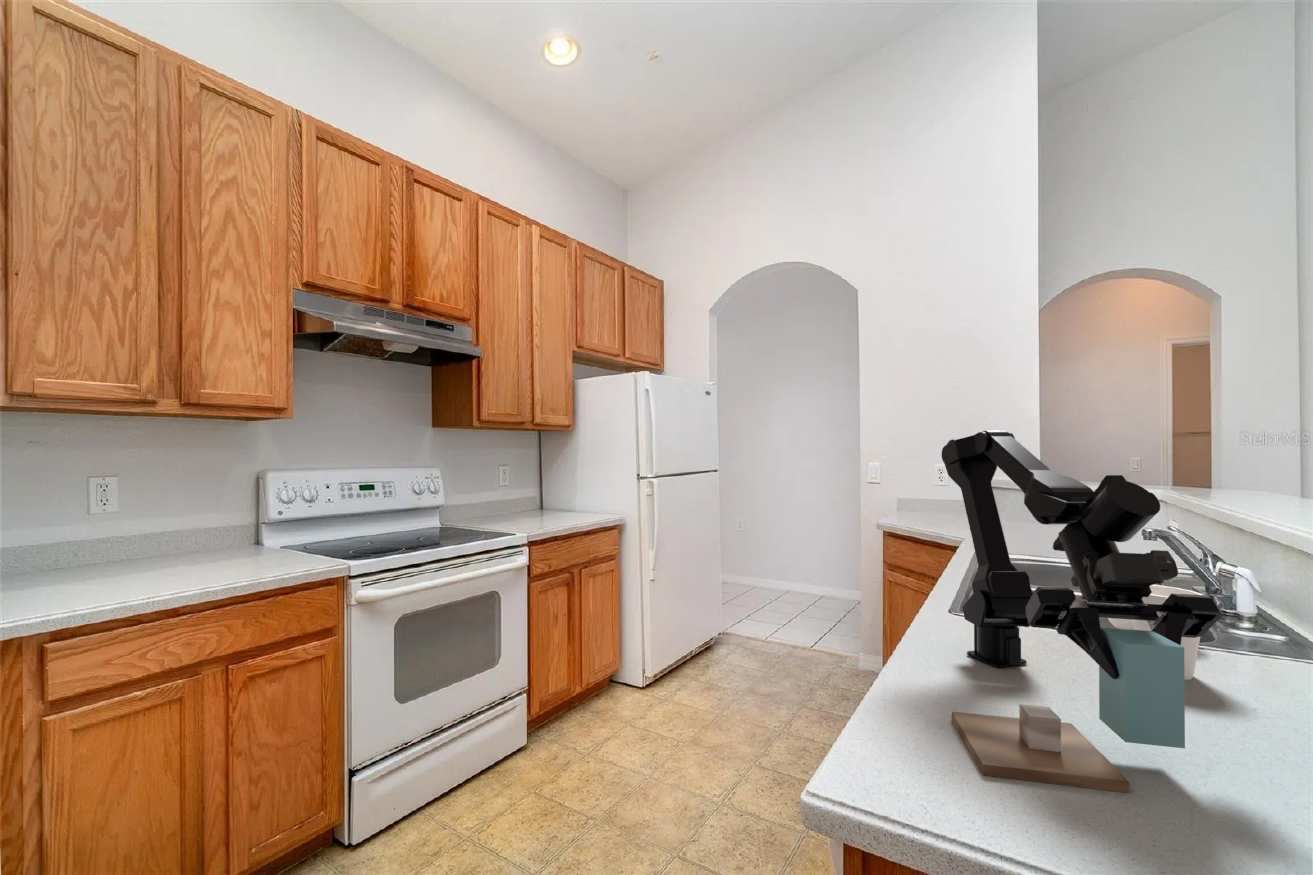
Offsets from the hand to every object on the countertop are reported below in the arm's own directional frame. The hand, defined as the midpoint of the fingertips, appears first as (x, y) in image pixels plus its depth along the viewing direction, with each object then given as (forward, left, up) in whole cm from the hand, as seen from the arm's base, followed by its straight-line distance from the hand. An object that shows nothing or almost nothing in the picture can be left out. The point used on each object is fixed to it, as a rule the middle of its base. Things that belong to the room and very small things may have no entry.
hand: (1146, 680), depth 65 cm
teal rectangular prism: (-1, +1, -7) cm, 7 cm away
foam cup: (-19, +34, -10) cm, 41 cm away
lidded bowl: (-33, +50, -10) cm, 61 cm away
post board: (-6, -8, -10) cm, 15 cm away
